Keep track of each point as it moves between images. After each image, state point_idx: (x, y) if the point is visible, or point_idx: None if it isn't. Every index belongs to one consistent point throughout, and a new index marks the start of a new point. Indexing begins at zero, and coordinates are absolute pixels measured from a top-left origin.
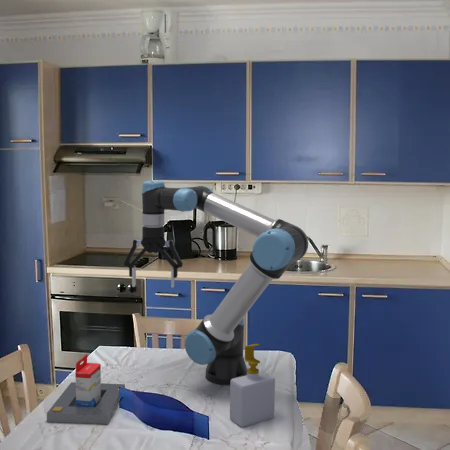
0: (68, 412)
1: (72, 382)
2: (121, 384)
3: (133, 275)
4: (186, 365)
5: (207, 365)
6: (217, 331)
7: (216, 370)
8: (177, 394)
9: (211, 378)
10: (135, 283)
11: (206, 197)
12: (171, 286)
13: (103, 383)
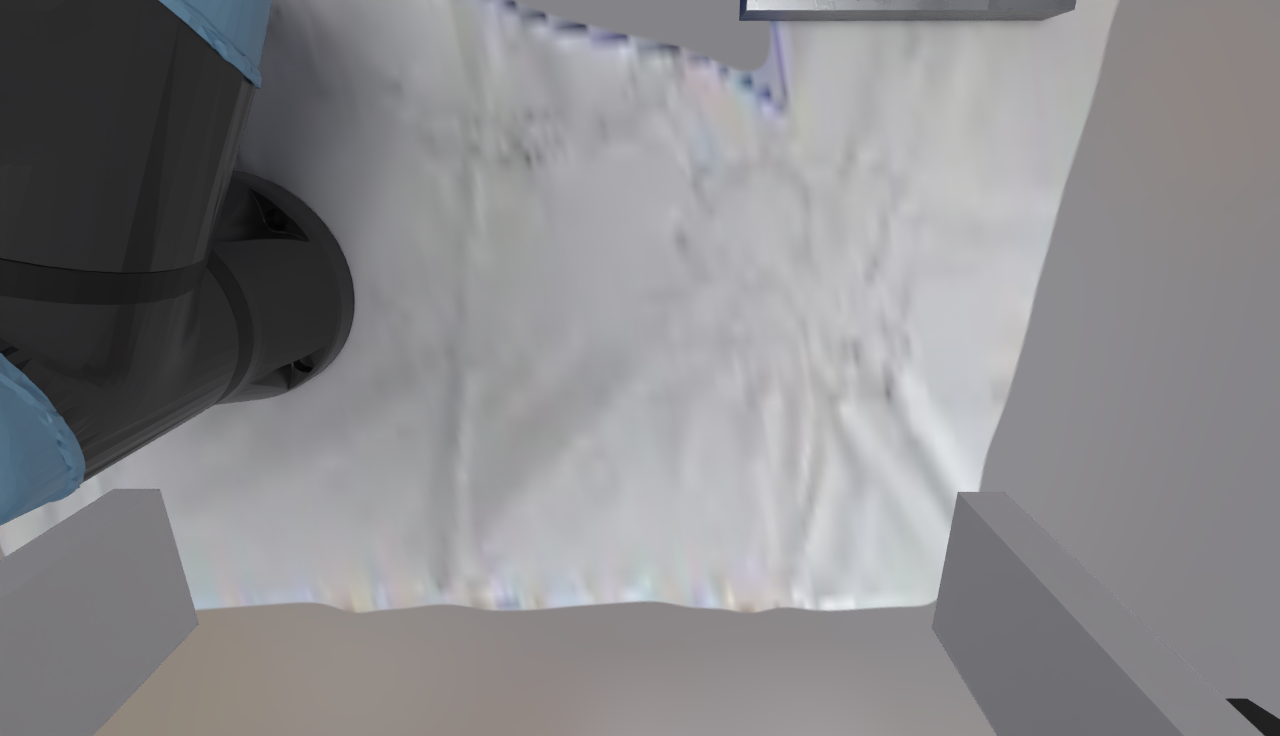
0: None
1: (1066, 6)
2: (766, 3)
3: (1174, 700)
4: (480, 409)
5: (307, 281)
6: None
7: (230, 199)
8: (445, 18)
9: (289, 202)
10: (956, 625)
11: None
12: (130, 502)
13: (876, 9)
